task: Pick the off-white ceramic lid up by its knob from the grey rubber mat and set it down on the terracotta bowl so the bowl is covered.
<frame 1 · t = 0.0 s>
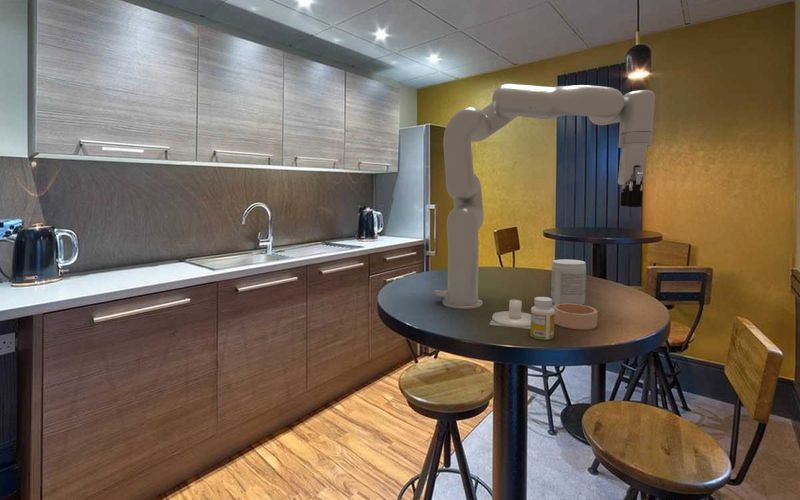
hand: (630, 206, 105), 31 cm above the table, tool pointing down, fingers open, 9 cm apart
bowl: (574, 324, 104), on the table
mat: (514, 322, 107), on the table
lid: (514, 320, 107), point 1 cm above the table, touching mat
supplement tub: (567, 309, 120), on the table
supplement bottle: (541, 338, 95), on the table
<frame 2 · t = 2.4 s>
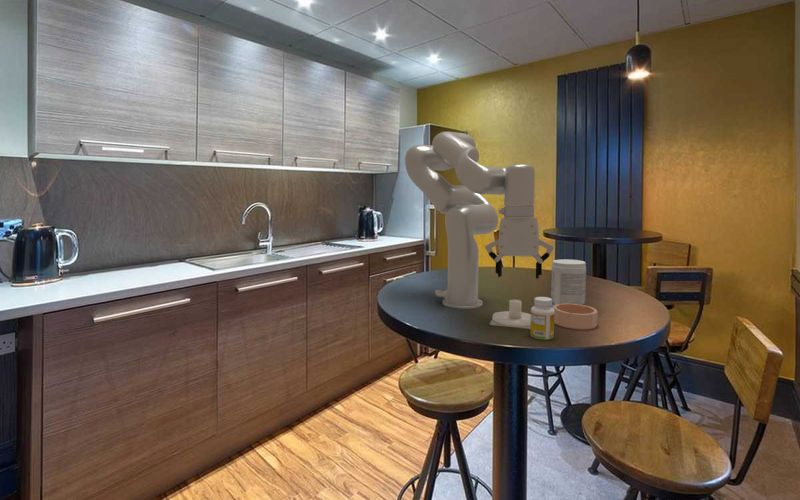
hand: (518, 277, 104), 13 cm above the table, tool pointing down, fingers open, 9 cm apart
nothing on the table moved.
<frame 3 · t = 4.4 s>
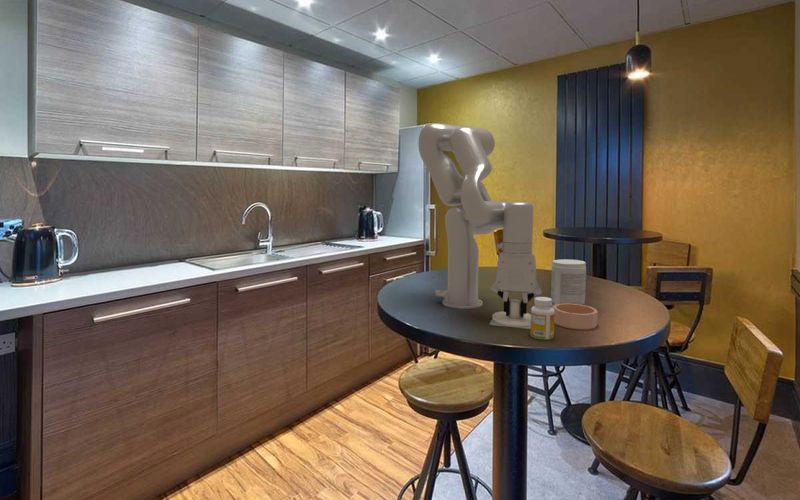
hand: (514, 314, 106), 2 cm above the table, tool pointing down, fingers closed on lid, 3 cm apart
lid: (514, 320, 107), point 1 cm above the table, touching gripper, mat
everything else where it was.
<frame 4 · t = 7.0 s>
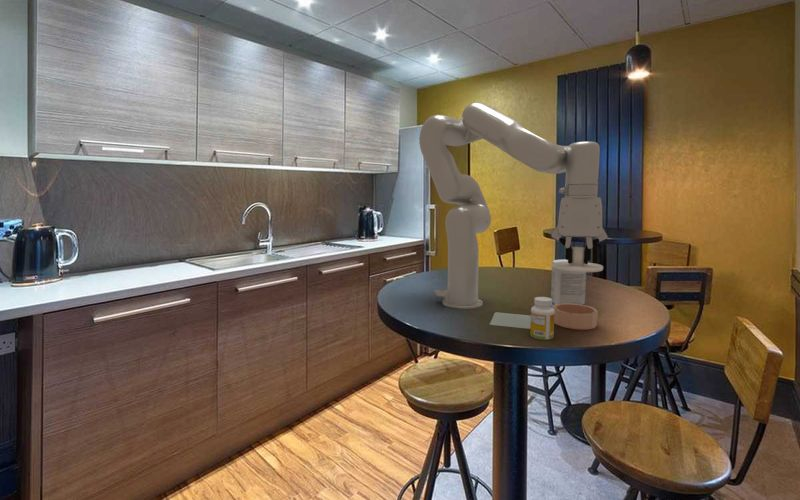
hand: (577, 262, 102), 17 cm above the table, tool pointing down, fingers closed on lid, 3 cm apart
lid: (577, 268, 102), point 15 cm above the table, touching gripper
everything else where it was.
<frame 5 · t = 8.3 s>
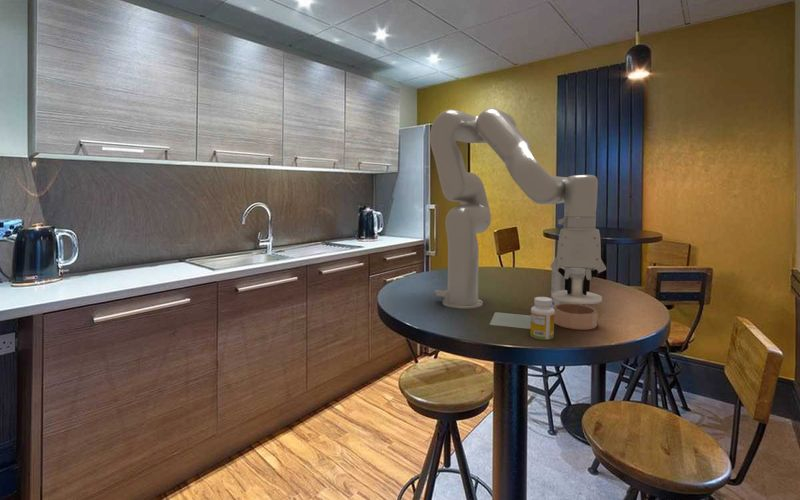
hand: (576, 292, 103), 9 cm above the table, tool pointing down, fingers closed on lid, 3 cm apart
lid: (576, 298, 103), point 7 cm above the table, touching gripper
everything else where it was.
when the fingers open (7 cm above the table, at t = 9.4 s): lid stays where it is, resting on bowl.
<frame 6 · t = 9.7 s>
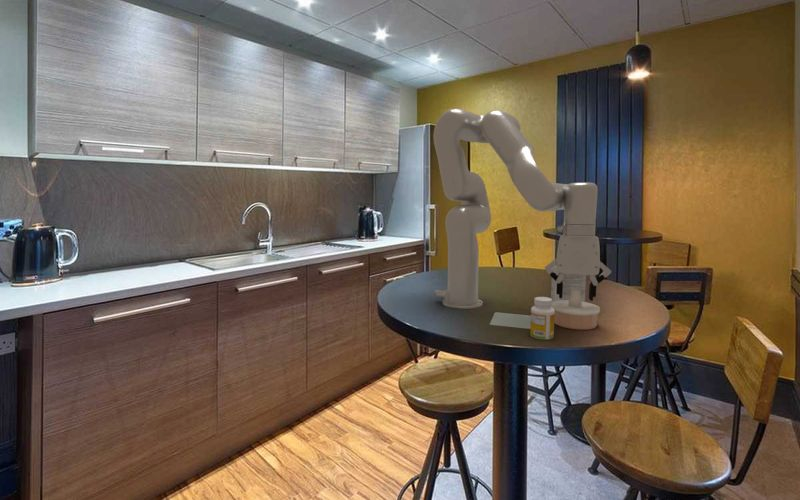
hand: (575, 297, 103), 7 cm above the table, tool pointing down, fingers open, 6 cm apart
lid: (574, 308, 104), point 4 cm above the table, touching bowl
everything else where it was.
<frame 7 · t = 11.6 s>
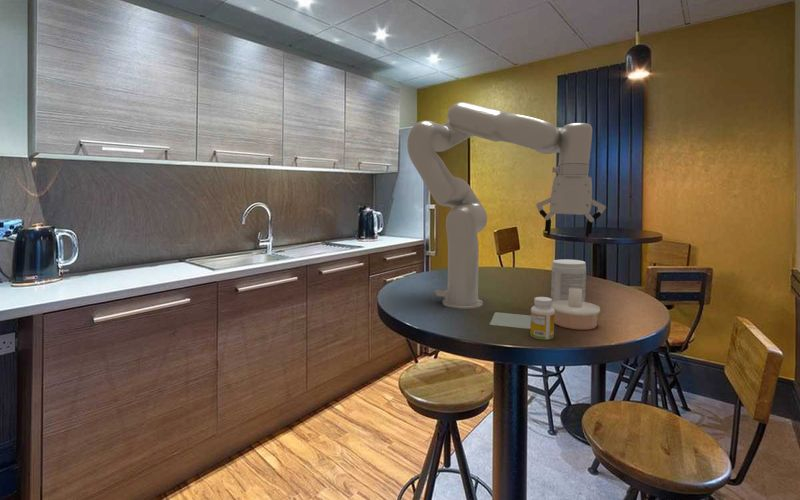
hand: (567, 235, 107), 23 cm above the table, tool pointing down, fingers open, 9 cm apart
nothing on the table moved.
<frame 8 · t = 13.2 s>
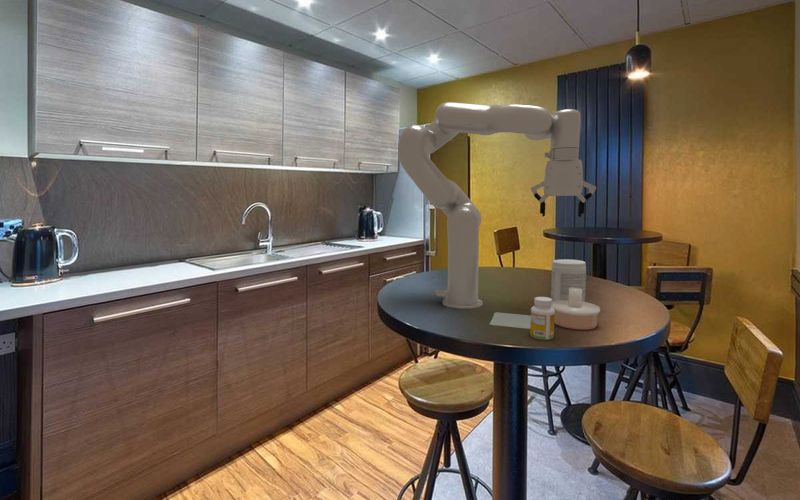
hand: (561, 216, 113), 28 cm above the table, tool pointing down, fingers open, 9 cm apart
nothing on the table moved.
at the end: lid 0.1 cm from the bowl (horizontally); lid 0.1 cm off-centre on the bowl, point 4.4 cm above the bowl's base; lid tilted 0° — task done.
